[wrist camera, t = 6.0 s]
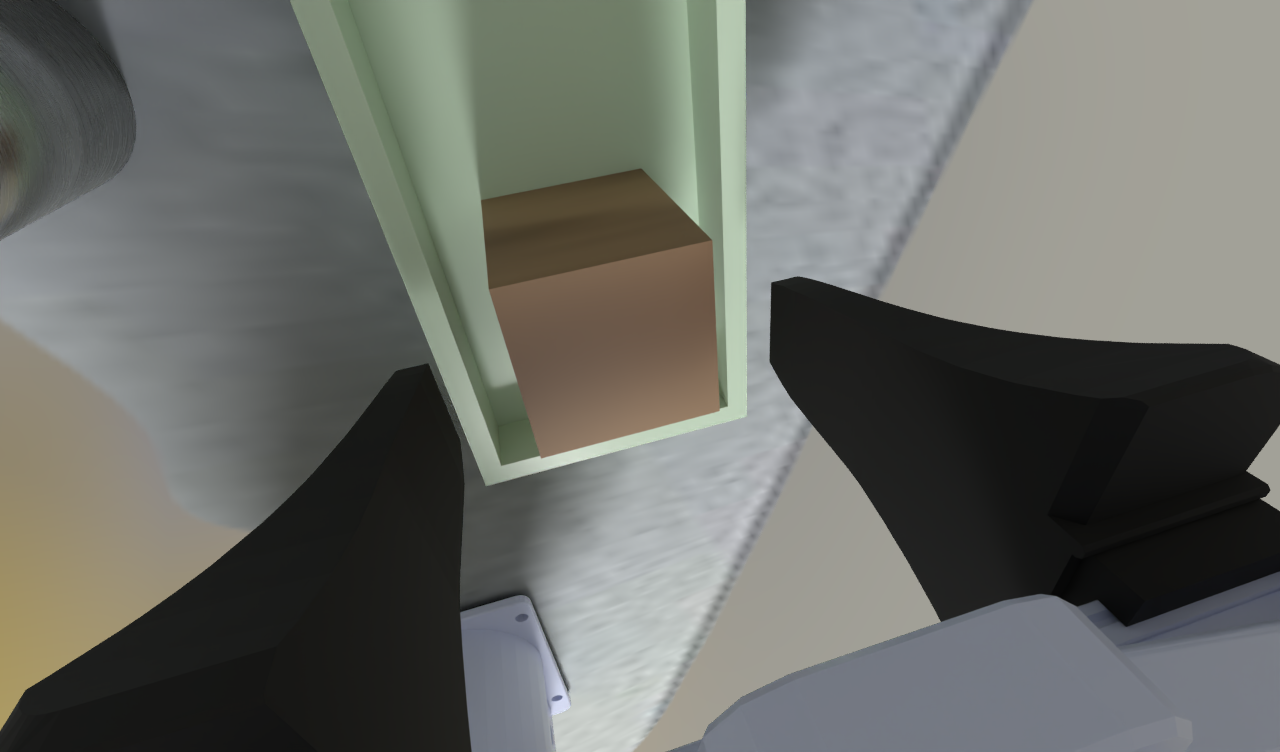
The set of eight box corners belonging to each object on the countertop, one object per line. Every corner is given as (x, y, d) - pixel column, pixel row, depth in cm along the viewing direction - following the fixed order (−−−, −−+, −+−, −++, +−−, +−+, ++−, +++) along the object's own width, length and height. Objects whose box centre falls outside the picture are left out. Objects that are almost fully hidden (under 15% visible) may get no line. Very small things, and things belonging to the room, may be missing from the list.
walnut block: (657, 307, 16) (719, 410, 12) (521, 339, 16) (540, 458, 12) (641, 168, 14) (712, 240, 10) (480, 200, 13) (488, 289, 9)
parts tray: (720, 376, 19) (746, 416, 17) (483, 437, 18) (486, 486, 16) (691, -377, 10) (744, -460, 8) (185, -349, 8) (112, -437, 7)
